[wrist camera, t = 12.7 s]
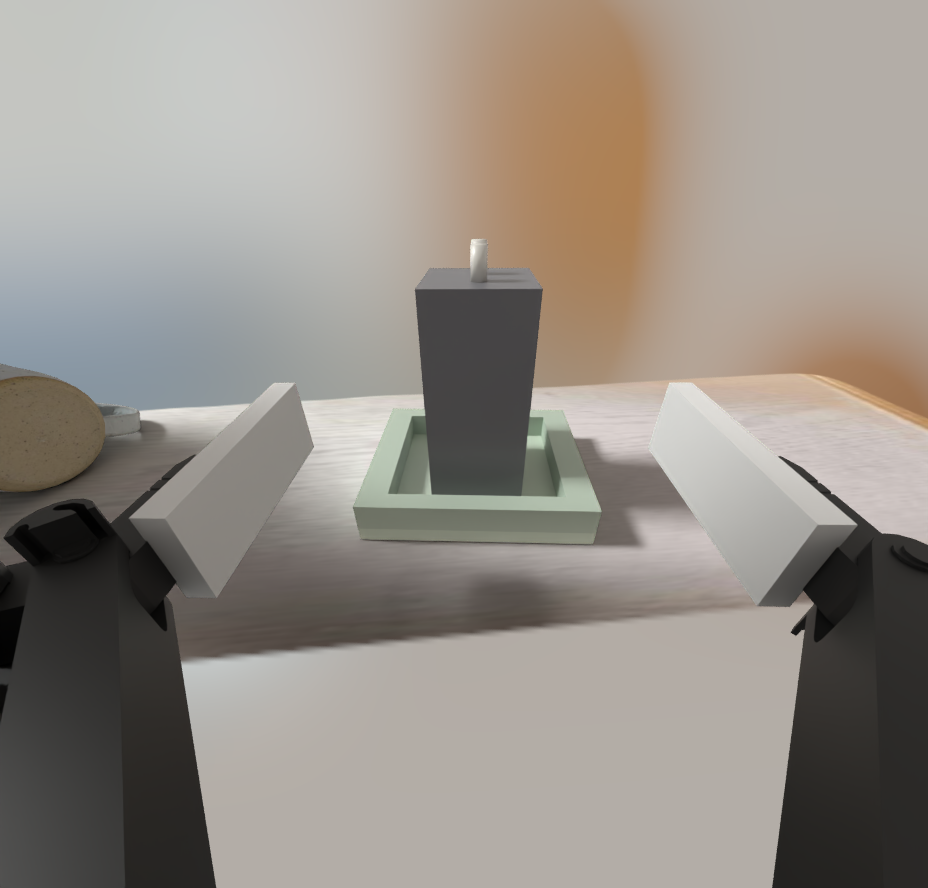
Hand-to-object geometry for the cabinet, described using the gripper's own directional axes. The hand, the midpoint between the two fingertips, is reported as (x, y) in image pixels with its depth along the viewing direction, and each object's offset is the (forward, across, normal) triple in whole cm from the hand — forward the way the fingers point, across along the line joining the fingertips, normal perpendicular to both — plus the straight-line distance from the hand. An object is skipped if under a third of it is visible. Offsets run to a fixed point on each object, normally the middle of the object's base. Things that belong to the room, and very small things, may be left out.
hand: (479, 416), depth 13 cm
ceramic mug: (+8, -29, -8) cm, 31 cm away
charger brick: (+6, 0, -7) cm, 10 cm away
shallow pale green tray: (+6, 0, -8) cm, 10 cm away
